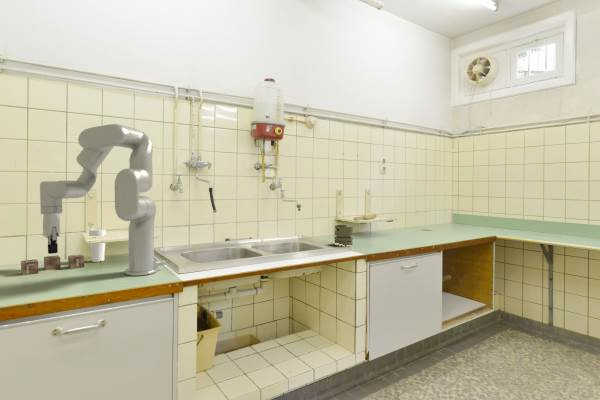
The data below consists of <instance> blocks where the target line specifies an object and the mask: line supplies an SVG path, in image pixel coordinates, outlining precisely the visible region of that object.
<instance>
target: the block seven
mask: <svg viewBox="0 0 600 400" xmlns="http://www.w3.org/2000/svg"><path fill="white" fill-rule="evenodd" d="M20 268H21V269H20V273H21V275H22V276H30V275H37V274H39V261H38V259H28V260H21V261H20Z"/></svg>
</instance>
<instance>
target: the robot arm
mask: <svg viewBox="0 0 600 400" xmlns="http://www.w3.org/2000/svg"><path fill="white" fill-rule="evenodd" d="M77 140H78V144H79V145H80V147H81V148H82V150H81V151H80V152H79V154H78V155H77V156H76V159H75V160H76V162H77V164H78V165H79V166H80V167H81V168H82V172H81V174H80V175H79V176H78V178H77V179H76V180H57V181H55V180H52V181H51V180H50V181H49V180H45V181H44V180H43V181H40V184H39V192H40V193H39V196H40V197H39V201H40V207H39V209H40V215H42V216H43V217H42V236H43V237H45V238H47V254H49V255H52V254H58V252H59V251H58V237H60V236H61V218H60V214H63V200H65V199H79V198H82V197H85V196H86V195H87V194H89V192H90V191H91V190H92V189H93V187H94V185H95V184H96V182H97V178H98V169H99V167H100V165H102V163H103V162H104V161H105V159H106V157H107V156H108V155H109V154H110V152H111V151H112V149H113V148H114V147H120V148H125V149H126V148H127V149H131V153H130V156H129V168H124V169H121V170H120V171H119V172H118V173H117V174H116V176H115V179H114V210H115V214H116V215H117V218H119V219H120V220H122V221H124V222H129V225H128V268H126V269H125V270H124V274H125V275H126V276H131V277H132V276H134V277H135V276H139V277H140V276H145V275H151V274H155V273H157V272H159V271H158V270H159V268H158V267H159V266H165V265H166V264H167V262H166V260H156V259H155V253H154V252H155V240H154V239H155V237H154V236H155V220H156V215H157V214H156V213H157V205H156V203H155V201H154V199H153V198H151V197H149V196H148V195H147V196H146V195H140V193H146V192H149V191H150V190H151V188H152V187H153V148H154V147H153V141H152V139H151V137H149V135H148V134H147V133H145V132H143V131H141V130H140V129H137V128H134V127H131V126H126V125H123V124H120V123H119V124H118V123H110V124H104V125H97V126H91V127H88V128H85V129H83V130H82V131H81V132H80V133H79V135H78V139H77Z"/></svg>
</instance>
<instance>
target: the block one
mask: <svg viewBox="0 0 600 400" xmlns="http://www.w3.org/2000/svg"><path fill="white" fill-rule="evenodd" d="M67 261H68V262H67V263H68V264H67V267H68V268H69V269H70V270H75V269H82V268H85V255H83V254H72V255H68V256H67Z"/></svg>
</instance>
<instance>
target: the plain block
mask: <svg viewBox="0 0 600 400" xmlns="http://www.w3.org/2000/svg"><path fill="white" fill-rule="evenodd" d="M43 269H44V270H45V271H51V270H57V269H58V270H59V269H61V256H60V255H47V256H44V257H43Z"/></svg>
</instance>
